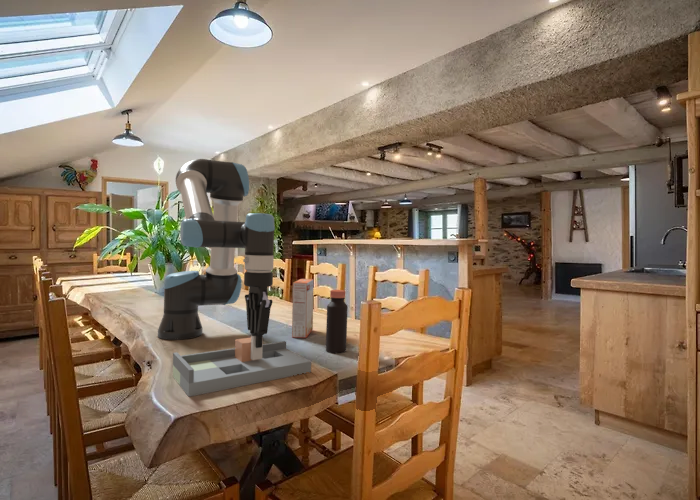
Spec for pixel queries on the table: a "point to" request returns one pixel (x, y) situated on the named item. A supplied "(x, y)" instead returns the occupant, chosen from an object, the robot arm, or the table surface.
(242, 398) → the table surface
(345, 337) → the bottle
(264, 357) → the board
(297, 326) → the cracker box
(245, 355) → the terracotta block
